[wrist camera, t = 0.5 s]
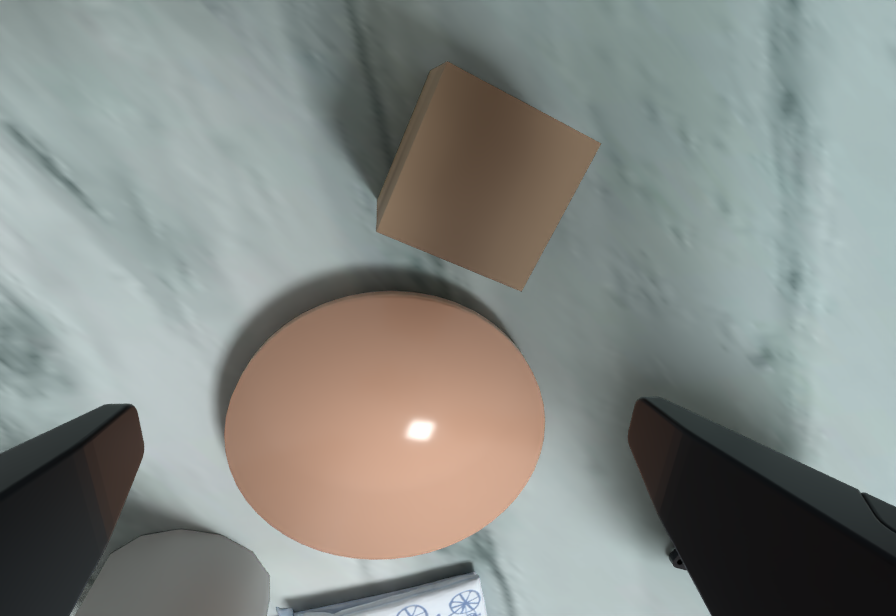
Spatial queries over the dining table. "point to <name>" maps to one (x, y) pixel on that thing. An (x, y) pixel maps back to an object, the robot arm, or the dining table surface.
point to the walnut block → (481, 177)
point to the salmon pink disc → (384, 425)
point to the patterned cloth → (413, 601)
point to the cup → (179, 578)
